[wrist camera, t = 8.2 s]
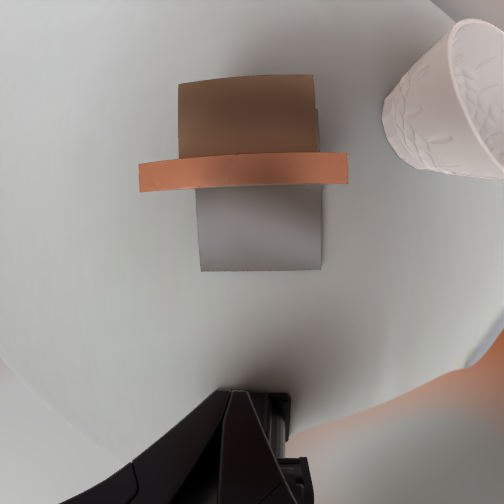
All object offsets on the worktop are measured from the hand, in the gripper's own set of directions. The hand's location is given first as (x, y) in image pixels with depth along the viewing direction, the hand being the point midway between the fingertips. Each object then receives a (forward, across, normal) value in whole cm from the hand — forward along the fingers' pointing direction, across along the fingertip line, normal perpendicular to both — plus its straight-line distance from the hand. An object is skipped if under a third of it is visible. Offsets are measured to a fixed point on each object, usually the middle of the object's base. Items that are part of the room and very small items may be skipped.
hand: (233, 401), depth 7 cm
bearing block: (+13, 0, -5) cm, 14 cm away
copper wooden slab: (+12, 0, -8) cm, 14 cm away
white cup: (+13, -12, -10) cm, 20 cm away
